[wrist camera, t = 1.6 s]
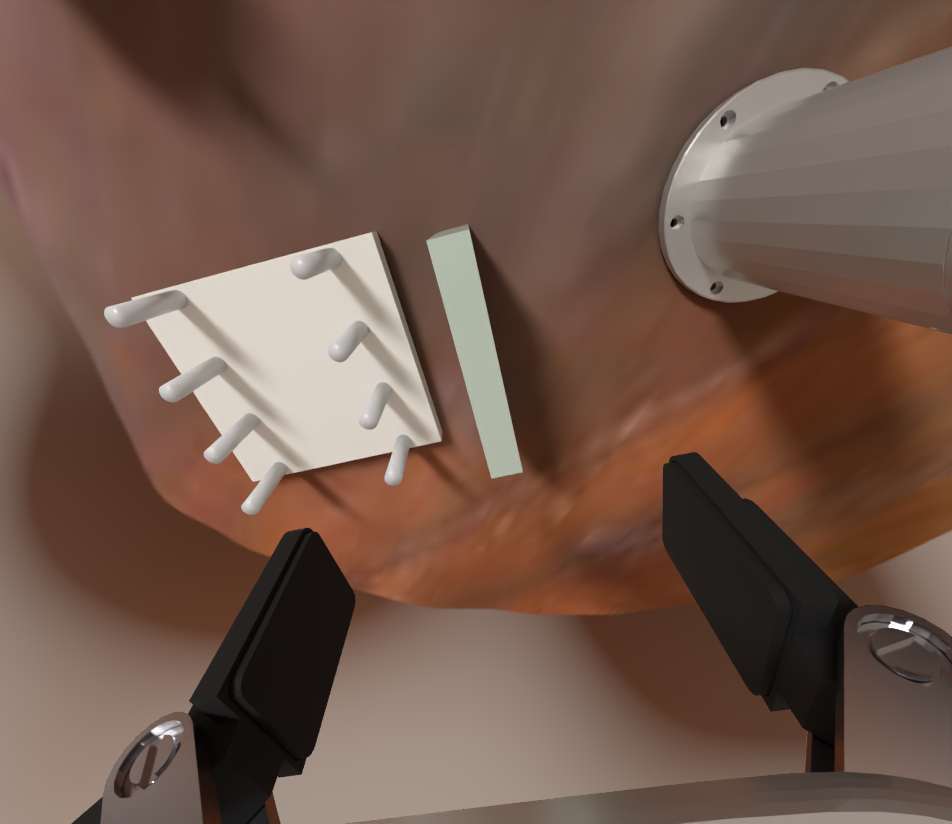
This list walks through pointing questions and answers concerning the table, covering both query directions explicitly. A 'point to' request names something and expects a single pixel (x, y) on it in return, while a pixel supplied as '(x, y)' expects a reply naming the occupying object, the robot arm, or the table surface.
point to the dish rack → (296, 361)
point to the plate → (475, 346)
